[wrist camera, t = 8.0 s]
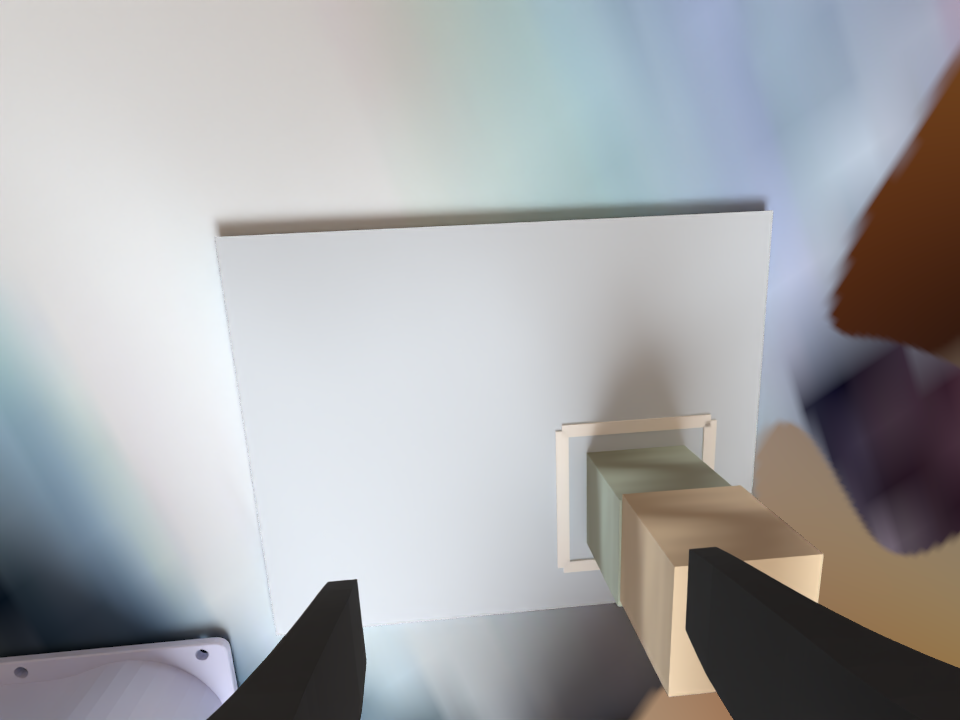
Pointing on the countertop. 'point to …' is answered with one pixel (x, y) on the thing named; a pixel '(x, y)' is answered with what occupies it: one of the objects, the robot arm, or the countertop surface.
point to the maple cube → (664, 566)
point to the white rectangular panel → (481, 396)
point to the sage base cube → (633, 475)
